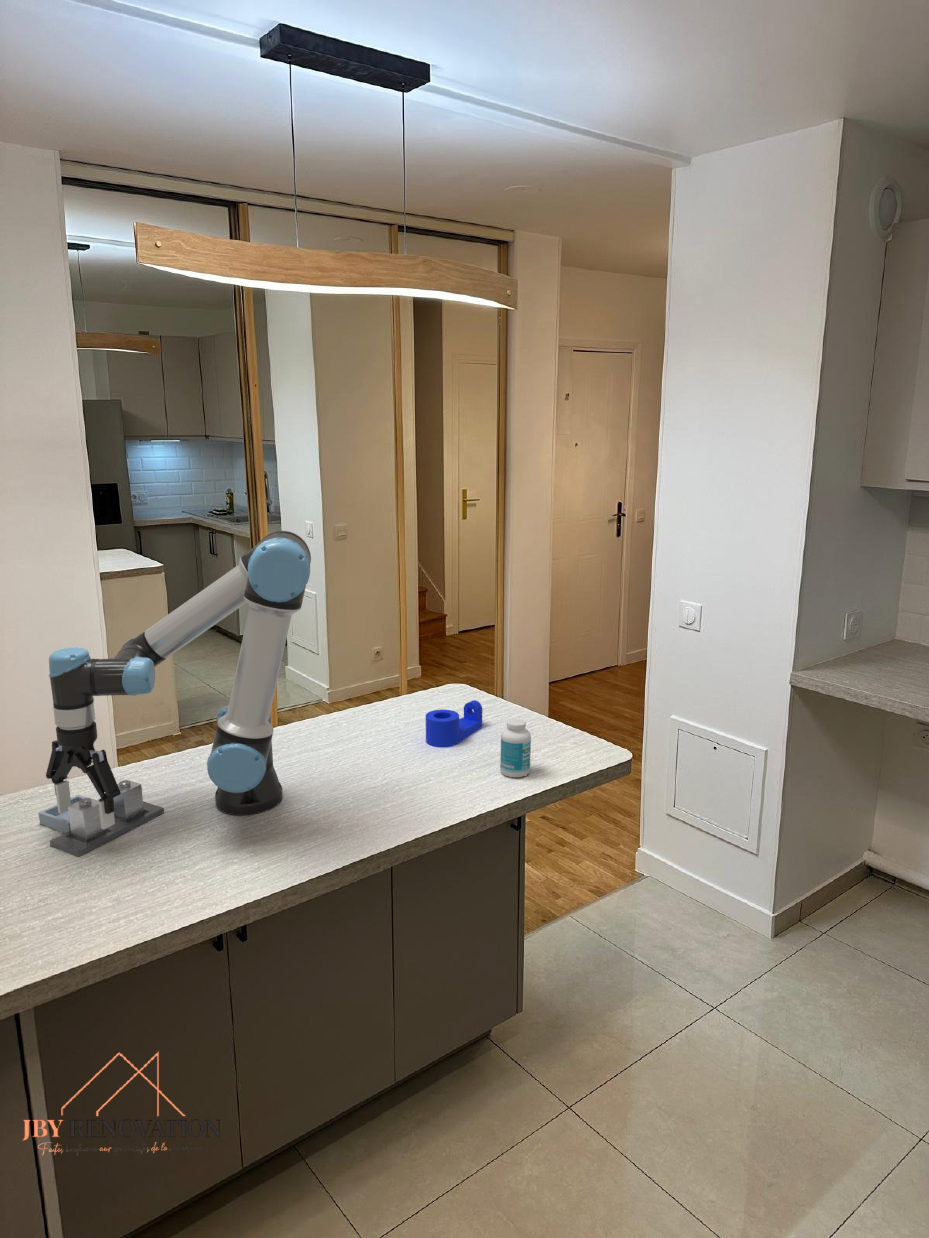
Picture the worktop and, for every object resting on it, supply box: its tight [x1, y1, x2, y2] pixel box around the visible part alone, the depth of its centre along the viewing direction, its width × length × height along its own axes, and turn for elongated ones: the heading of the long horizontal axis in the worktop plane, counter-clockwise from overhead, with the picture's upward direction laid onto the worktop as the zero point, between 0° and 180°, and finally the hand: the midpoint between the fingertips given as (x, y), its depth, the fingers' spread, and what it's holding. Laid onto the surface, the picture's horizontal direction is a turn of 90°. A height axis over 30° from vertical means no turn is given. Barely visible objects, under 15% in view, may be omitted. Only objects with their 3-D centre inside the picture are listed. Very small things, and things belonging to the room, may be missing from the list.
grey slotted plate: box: [49, 800, 165, 858], centre depth 185 cm, size 22×9×1 cm, turn 151°
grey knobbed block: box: [113, 779, 144, 824], centre depth 188 cm, size 5×5×9 cm
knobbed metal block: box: [68, 797, 106, 844], centre depth 179 cm, size 5×5×9 cm
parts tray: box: [38, 794, 87, 834], centre depth 188 cm, size 10×10×3 cm
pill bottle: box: [499, 718, 532, 778], centre depth 211 cm, size 8×7×14 cm
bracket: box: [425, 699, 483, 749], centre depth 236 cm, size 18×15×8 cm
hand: (86, 818), depth 179 cm, fingers open, 13 cm apart
